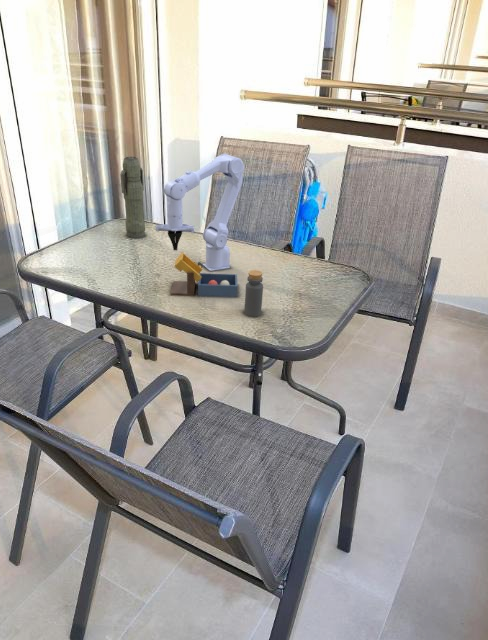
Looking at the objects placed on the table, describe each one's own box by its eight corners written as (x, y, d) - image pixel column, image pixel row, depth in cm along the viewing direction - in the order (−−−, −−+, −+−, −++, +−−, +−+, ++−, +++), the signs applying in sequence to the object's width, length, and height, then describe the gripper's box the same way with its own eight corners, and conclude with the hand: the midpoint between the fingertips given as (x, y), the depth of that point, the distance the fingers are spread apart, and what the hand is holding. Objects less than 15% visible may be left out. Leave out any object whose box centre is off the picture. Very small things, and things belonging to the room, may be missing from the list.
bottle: (243, 309, 178) (245, 269, 170) (259, 309, 179) (263, 269, 171) (245, 316, 173) (247, 276, 165) (262, 316, 174) (265, 276, 166)
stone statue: (120, 236, 239) (113, 158, 220) (137, 230, 247) (132, 154, 229) (134, 240, 235) (129, 161, 216) (151, 234, 243) (147, 157, 225)
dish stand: (171, 295, 186) (170, 272, 181) (173, 282, 195) (173, 261, 191) (193, 295, 186) (193, 273, 181) (195, 283, 196) (195, 262, 191)
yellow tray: (174, 267, 182) (181, 259, 180) (177, 252, 194) (184, 245, 193) (196, 285, 186) (203, 277, 184) (197, 270, 198) (204, 262, 197)
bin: (198, 296, 186) (198, 284, 184) (199, 283, 196) (199, 272, 193) (237, 297, 187) (237, 286, 184) (236, 284, 196) (236, 274, 194)
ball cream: (221, 286, 193) (230, 282, 192) (223, 293, 191) (232, 289, 190) (217, 281, 190) (226, 276, 189) (219, 288, 188) (228, 283, 187)
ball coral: (208, 280, 191) (215, 286, 193) (204, 287, 189) (212, 292, 191) (213, 276, 189) (220, 282, 190) (210, 283, 187) (217, 289, 188)
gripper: (154, 217, 186) (155, 252, 193) (193, 218, 187) (193, 253, 194) (156, 211, 192) (157, 246, 199) (194, 213, 193) (194, 247, 200)
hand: (175, 249), depth 197 cm, fingers closed
